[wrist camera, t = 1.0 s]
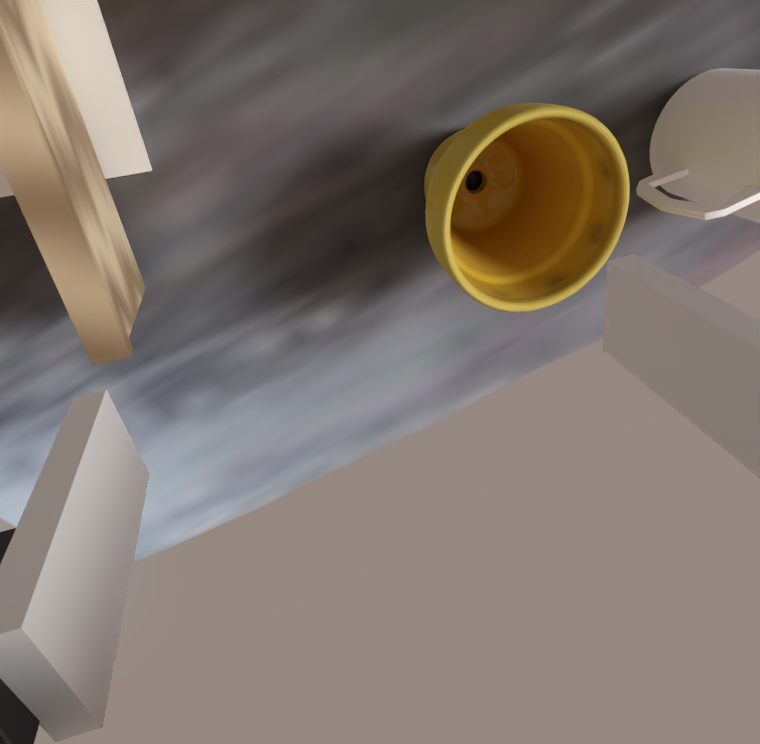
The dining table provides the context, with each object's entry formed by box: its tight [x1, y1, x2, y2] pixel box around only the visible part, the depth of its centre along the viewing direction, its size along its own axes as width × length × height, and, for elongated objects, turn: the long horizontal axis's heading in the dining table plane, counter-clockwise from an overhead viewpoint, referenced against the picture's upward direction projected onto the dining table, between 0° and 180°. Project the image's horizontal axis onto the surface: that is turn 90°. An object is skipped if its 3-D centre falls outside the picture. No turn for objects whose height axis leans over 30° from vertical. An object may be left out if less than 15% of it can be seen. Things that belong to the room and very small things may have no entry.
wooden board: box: [0, 0, 146, 365], centre depth 26 cm, size 19×2×9 cm, turn 8°
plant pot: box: [424, 103, 630, 312], centre depth 33 cm, size 10×10×10 cm
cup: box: [636, 68, 760, 223], centre depth 35 cm, size 8×12×10 cm
